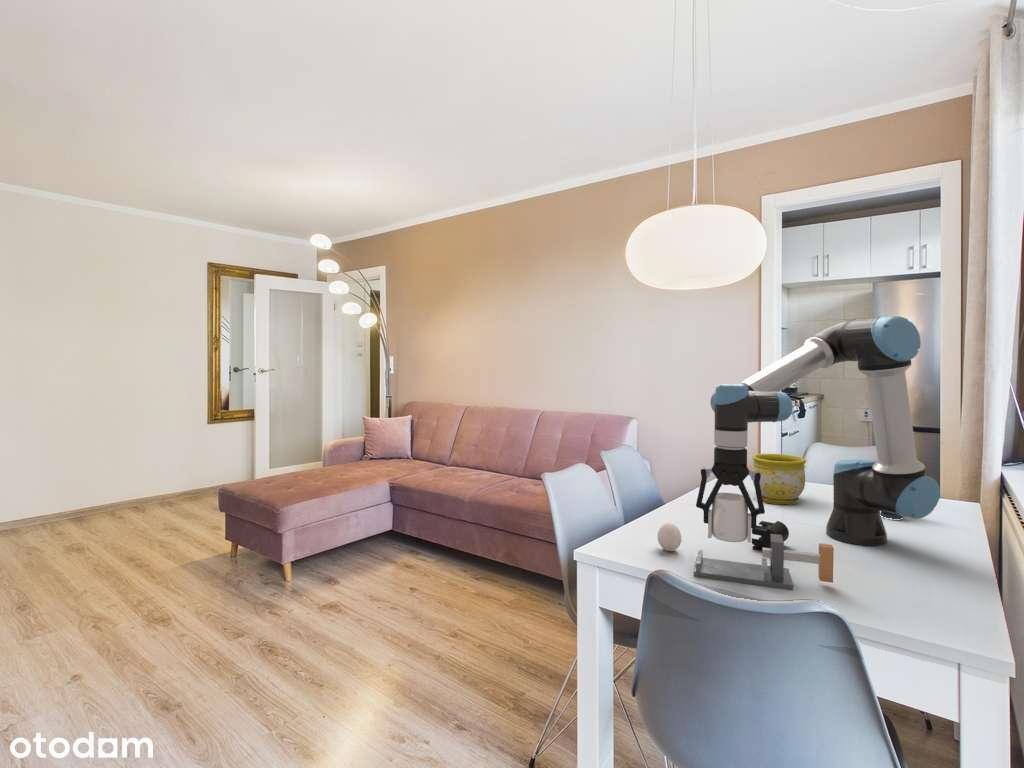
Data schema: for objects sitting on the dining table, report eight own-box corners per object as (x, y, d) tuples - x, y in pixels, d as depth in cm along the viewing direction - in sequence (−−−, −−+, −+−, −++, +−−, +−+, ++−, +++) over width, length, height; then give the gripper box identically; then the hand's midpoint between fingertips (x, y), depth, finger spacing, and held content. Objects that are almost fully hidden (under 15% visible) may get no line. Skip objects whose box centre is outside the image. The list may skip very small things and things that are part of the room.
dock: (788, 573, 131) (789, 533, 131) (792, 590, 122) (793, 546, 121) (696, 561, 140) (696, 523, 139) (693, 576, 130) (694, 535, 129)
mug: (731, 549, 125) (732, 505, 124) (698, 540, 131) (699, 498, 130) (752, 537, 133) (753, 496, 132) (720, 530, 139) (721, 490, 138)
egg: (686, 551, 147) (686, 523, 147) (671, 556, 143) (671, 527, 143) (667, 545, 152) (667, 517, 152) (652, 549, 148) (652, 521, 148)
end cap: (778, 555, 144) (778, 531, 143) (751, 549, 148) (751, 525, 148) (789, 546, 151) (789, 522, 151) (762, 540, 156) (762, 518, 156)
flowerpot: (815, 507, 192) (816, 461, 191) (765, 507, 192) (765, 461, 191) (789, 494, 210) (790, 453, 209) (744, 494, 210) (744, 453, 209)
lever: (831, 578, 124) (831, 544, 124) (833, 582, 122) (833, 548, 122) (762, 569, 130) (762, 537, 130) (762, 573, 127) (763, 540, 127)
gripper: (777, 447, 130) (775, 539, 131) (686, 442, 138) (685, 529, 139) (779, 452, 123) (777, 549, 124) (684, 446, 131) (683, 537, 132)
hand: (729, 538), depth 131 cm, fingers closed on mug, 8 cm apart
